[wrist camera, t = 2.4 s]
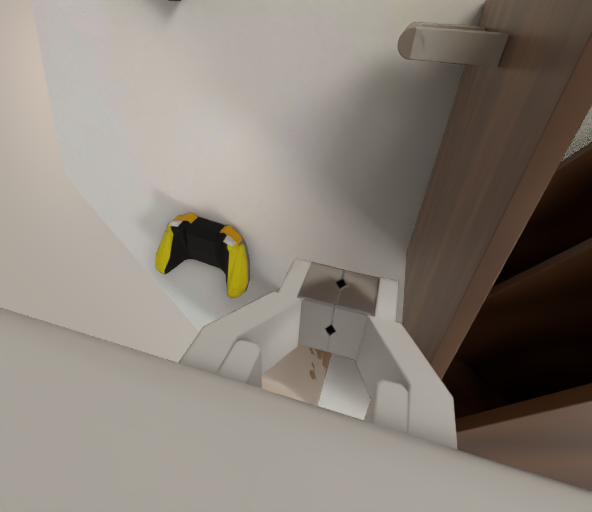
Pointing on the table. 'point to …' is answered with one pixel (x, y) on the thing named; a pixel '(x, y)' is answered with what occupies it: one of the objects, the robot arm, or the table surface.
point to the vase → (299, 374)
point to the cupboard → (535, 343)
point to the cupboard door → (491, 154)
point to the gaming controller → (206, 249)
